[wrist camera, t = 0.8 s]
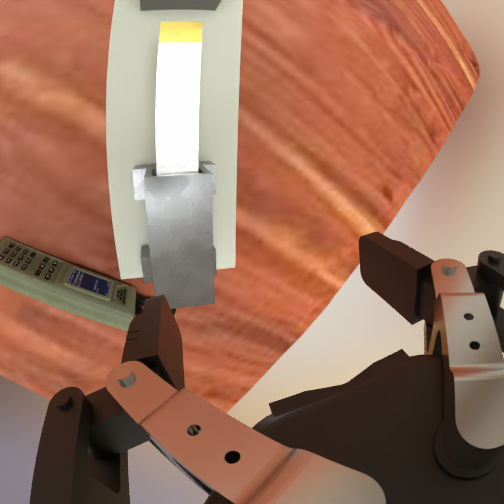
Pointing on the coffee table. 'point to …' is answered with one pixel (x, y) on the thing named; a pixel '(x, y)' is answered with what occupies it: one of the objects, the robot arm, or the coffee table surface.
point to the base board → (144, 118)
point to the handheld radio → (68, 285)
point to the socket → (179, 5)
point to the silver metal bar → (178, 97)
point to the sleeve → (179, 233)
